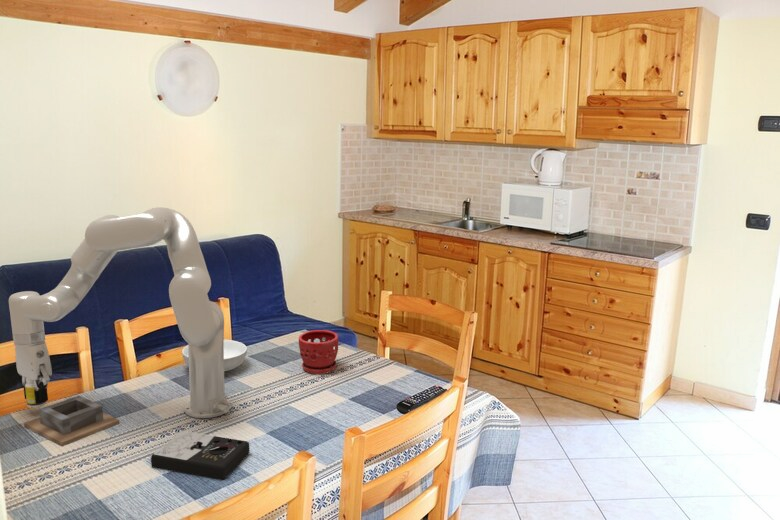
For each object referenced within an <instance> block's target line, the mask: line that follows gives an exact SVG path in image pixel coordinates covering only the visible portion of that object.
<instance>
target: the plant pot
mask: <svg viewBox="0 0 780 520" xmlns="http://www.w3.org/2000/svg"><path fill="white" fill-rule="evenodd" d="M323 338H325V340H323ZM316 339H318V340H319V342H315V340H316ZM309 340H310V341H309ZM298 347H299V354H300V357H301V360H302V364H301V367H302V369H303V370H304V371H305V372H307V373H309V374H314V375H315V374H316V375H321V374H327V372H328V373H331V372H332V371H333V370H335V369H336V367H337V361H336V359H337V356H338V352H339V335H338V333H336V332H335V331H331V330H326V329H325V330H324V329H323V330H322V329H316V330H315V329H314V330H309V331H306V332H303V333H300V335H299V336H298Z"/></svg>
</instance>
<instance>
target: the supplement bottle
mask: <svg viewBox="0 0 780 520" xmlns="http://www.w3.org/2000/svg"><path fill="white" fill-rule="evenodd" d="M40 377H41V375H40V376H38V378H40ZM26 382H27V383H26V384H25V385H24V386H25V391H26V399H25V400H26V406H27V407H28V408H38V407H42V406H44V405H46V403H47V401H46V402H43V403H40V404H36V403H35V395H34V390H36V389H35V385H34V381H33V380H32V379H29V378H27V377H26ZM40 382H42V380H39V381H38V385H39V383H40Z"/></svg>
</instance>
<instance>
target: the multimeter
mask: <svg viewBox="0 0 780 520" xmlns="http://www.w3.org/2000/svg"><path fill="white" fill-rule="evenodd" d="M249 454H250V443H249V441H245V440H241V439H234V438H227V437H222V436H216V435H210V434H205V433H204V434H203V433H197V432H191V431H185V430H183V431H180V432H179V433H178V434H176V435H175V436H174V437H173V438H171V439H170V440H169V441H167V442H166V443H165V444H163V445H162V446H161V447H160V448H158V449H157V450H156V451H155V452H154V453H152V454H151V456H150V463H151V465H150V466H151V468H154V469H159V470H165V471H170V472H174V473H175V472H177V473H182V474H188V475H192V476H199V477H203V478H204V477H205V478H210V479H216V480H221V481H222V480H225V479H226V478H227V477H228V476H229V475H230V474H232V472H233V471H234V470H236V468H237V467H238V466H239V465H240V464H241V463H242V462H243V461H244V459H246V458H247V457H248V456H249Z"/></svg>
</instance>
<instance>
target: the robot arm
mask: <svg viewBox="0 0 780 520" xmlns="http://www.w3.org/2000/svg"><path fill="white" fill-rule="evenodd" d="M162 240H163V242H164V243H165V244H166V248H167V254H168V258H169V260H170V264H171V267H172V272H173V275H174V276H173V277H172V279H171V281H170V283H169V287H168V294H169V295H168V297H169V301H170V304H171V309H172V310H173V314H174V318H175V320H176V324H177V327H178V329H179V332H180V335H181V336H182V338H183V339H184V341H185V342H187V345H188V354H189V366H188V379H189V380H188V383H189V384H188V385H189V402H187V403H186V404H185V406H184V412H185V414H186V415H187V416H189V417H192V418H196V419H209V418H211V419H212V418H216V417H220V416H222V415H224V414H227V413H229V411H230V409H231V408H232V407H233V403H232V402H231V401H230V400H229V399H228V395H226V393H225V391H226V390H225V372H224V340H225V338H224V337H225V335H224V334H225V333H224V332H225V317H224V312H223V310H222V308H221V306H220V305H219V304H218V303H216V302H214V301H211V300H210V299H209V298H210V297H209V295H208V293H209V292H210V289H211V287H212V280H211V277H210V273H209V271H208V268H207V264H206V261H205V258H204V257H205V256H204V254H203V252H202V251H203V250H201V246H200V241H199V239H198V235H197V234H196V231H195V228H194V226H193V224H192V223H191V222H190V220H189V219H188V218H187V217H186V216H185V215H183V213H181V212H179V211H177V210H175V209H172V208H169V207H164V206H163V207H159V206H158V207H152V208H149V209H147V210H146V211H144V212H141V213H136V214H131V215H123V216H118V215H116V214H108V215H104V216H101V217H99V218H97V219H95V220H92V221H91V222H90V223H89V224H88V226H86V229H85V232H84V239H83V240H82V241H81V243H80V245H78V247H77V248H76V249H75V251H74V252H73V253H72V255H70V256H71V257H70V261H71V264H70V265H71V266H70V268H69V270H68V271H67V272H66V274H65V276H63V278H62V280H61V281H60V282H59V283H58V284H57V286H56V287H55V288H54V289H52V290H50V291H49V292H47V293H44V294H42V295H40V293H38V292H37V291H33V290H25V291H20V292H19V291H18V292H16V293H13V294H11V295H10V296H9V298H8V308H9V313H10V324H11V331H12V332H11V333H12V340H13V345H14V351H15V364H16V365H15V366H16V370H17V373H18V375H19V376H20V379H21V383H22V385H23V394H24V395H23V396H24V399H25V400H26V391H25V384H26V383H27V382H26V377H27V378H29V379H32V380H33V381H34V385H35V389H36V390H34V395H35V403H36V404H40V403H43V402H46V403H47V402H48V401H49V396H48V384H49V383H50V382H51V379H50V377H51V376H52V374H53V370H52V363H51V359H50V354H49V349H48V346H47V343H46V334H45V326H44V325H45V322H47V323H53V322H58V321H59V320H61V319H63V318H64V317H66V315H68V314H69V313H71V312H72V311H73V310H75V309H76V308H77V306H78V305H79V304H80V303H81V302H82V300H83V299H85V297H86V296H87V294H88V293H89V291H90V290H91V289H92V287H93V286H94V284H95V283H96V281H97V280H98V279H99V277H100V276H101V274H102V273H103V271H104V270H105V268H106V267H108V265H109V263H110V262H111V260H112V259H113V258H114V257H115V255H116V254H117V253H118V252H119V251H123V250H131V249H137V248H139V249H140V248H143V247H149V246H150V247H151V246H153V245H156V244H158V243H160V242H161V241H162ZM40 375H41V377H40V378H38V376H40ZM39 380H42V382H40V383H39V385H38V381H39Z"/></svg>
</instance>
